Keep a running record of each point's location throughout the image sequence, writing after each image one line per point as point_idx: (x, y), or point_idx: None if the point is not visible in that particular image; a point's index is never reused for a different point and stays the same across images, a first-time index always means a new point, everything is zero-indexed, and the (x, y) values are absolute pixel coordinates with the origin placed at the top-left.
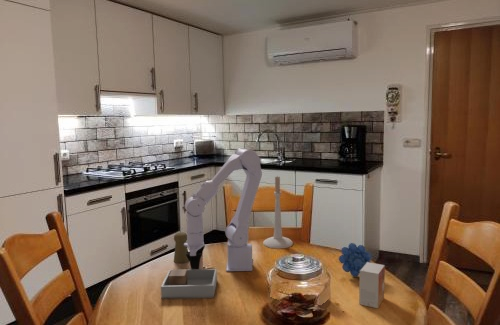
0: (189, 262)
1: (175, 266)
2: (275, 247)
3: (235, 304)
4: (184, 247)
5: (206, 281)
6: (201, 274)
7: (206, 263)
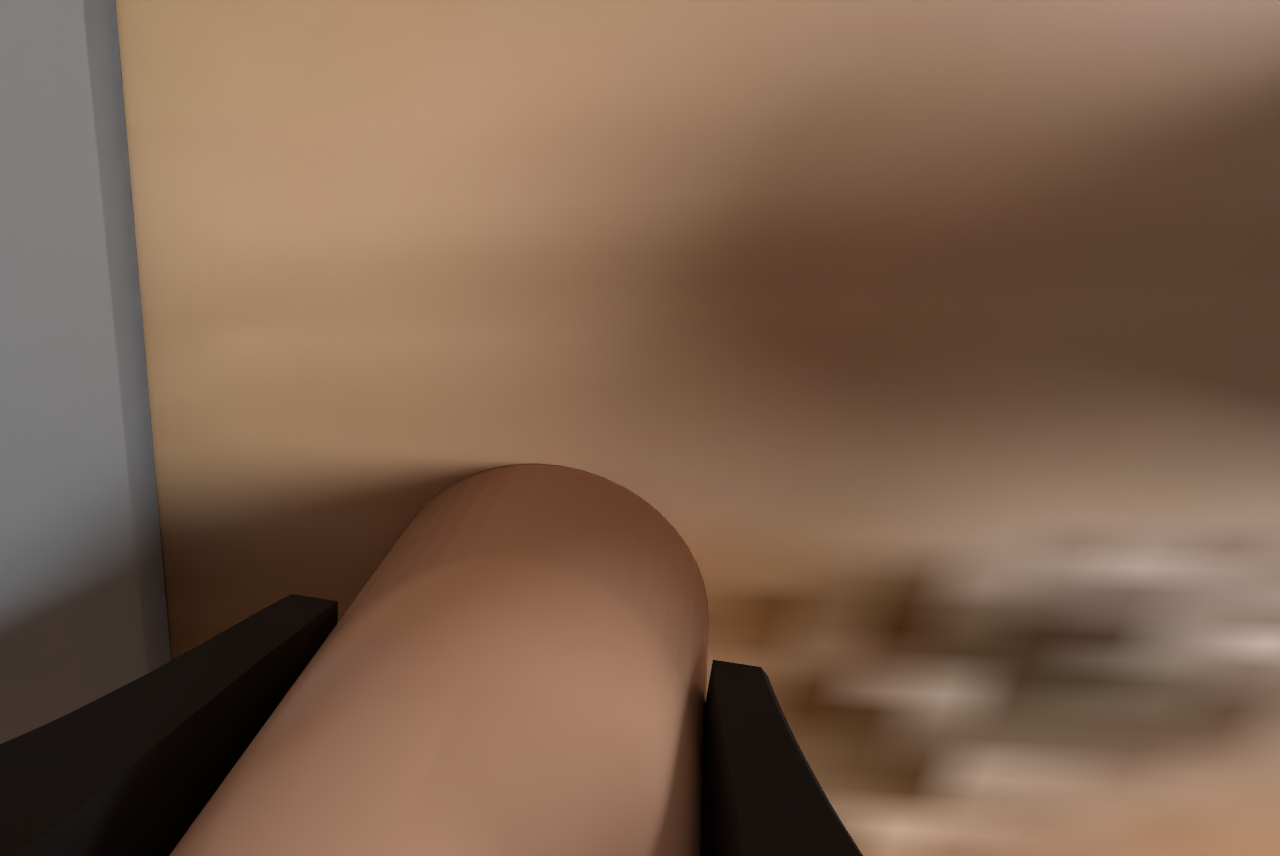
0: (376, 661)
1: (1246, 28)
2: None
3: None
4: None
5: None
6: None
7: (1139, 846)
